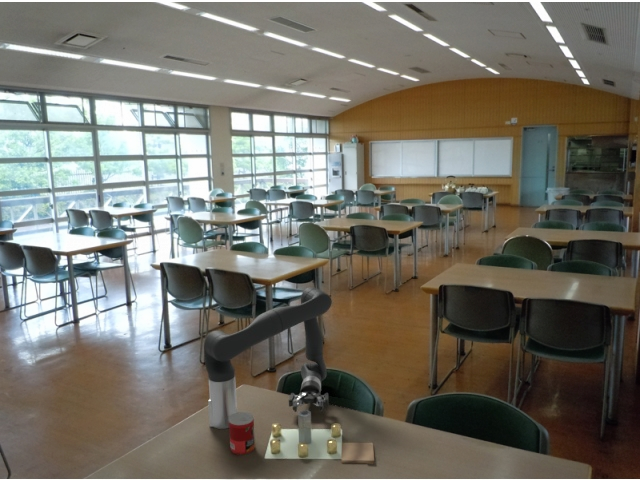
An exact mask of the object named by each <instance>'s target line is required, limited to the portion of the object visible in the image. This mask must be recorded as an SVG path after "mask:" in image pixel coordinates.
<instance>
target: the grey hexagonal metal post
mask: <svg viewBox="0 0 640 480" xmlns="http://www.w3.org/2000/svg"><path fill="white" fill-rule="evenodd" d="M297 413H298V414H297V421H298V423H297V424H298V425H297V426H298V428H297V429H298V430H299V443H300V442H306V443H308V444H311V441H312V435H311V429H312V411H310V410H307V409H303V410H299V411H298V412H297Z"/></svg>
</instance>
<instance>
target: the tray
mask: <svg viewBox="0 0 640 480" xmlns="http://www.w3.org/2000/svg"><path fill="white" fill-rule="evenodd" d="M374 453H375V451H374V444H373V442H342V451H341V459H340V461H341V464H367V465H375V455H374Z"/></svg>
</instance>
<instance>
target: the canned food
mask: <svg viewBox="0 0 640 480" xmlns="http://www.w3.org/2000/svg"><path fill="white" fill-rule="evenodd" d="M254 420H255V418H254V415H253V414H252V413H251V412H247V411H237V413H234V414H232V415H231V416H230V417H229V428H228V429H229V431H228V432H229V445H230V451H231V452H232V453H233V454H234V455H238V456H241V455H246V454H250V453H251V452H253V451H254V449H255V447H256V443H255V442H256V441H255V438H256V437H255V421H254Z"/></svg>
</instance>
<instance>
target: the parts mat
mask: <svg viewBox="0 0 640 480" xmlns="http://www.w3.org/2000/svg"><path fill="white" fill-rule="evenodd" d="M281 434H282V435H281V436H280V437H277V438H275V437H273V436H272V432H271V434H270V436H269V440H268V444H267V448H266V451H265V454H264V459H267V460H270V459H272V460H273V459H276V460H277V459H278V460H279V459H280V460H283V459H284V460H287V459H288V460H299V459H300V460H341V451H342V443H343V429H342V428H341V436H340V437H338V438H333V437H332V436H331V428H327V429H326V428H325V429H324V428H322V429H321V428H313V429H312V428H311V435H312V441H311V444H308V457H306V458H300V457H299V456H298V444H299V430H298V428H292V429H291V428H281ZM272 439H279V440H280V447H281V452H280V453H279V454H272V453H271V449H270V441H271V440H272ZM329 439H335V440H337V453H336V454H333V455H331V454H328V453H327V440H329Z"/></svg>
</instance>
